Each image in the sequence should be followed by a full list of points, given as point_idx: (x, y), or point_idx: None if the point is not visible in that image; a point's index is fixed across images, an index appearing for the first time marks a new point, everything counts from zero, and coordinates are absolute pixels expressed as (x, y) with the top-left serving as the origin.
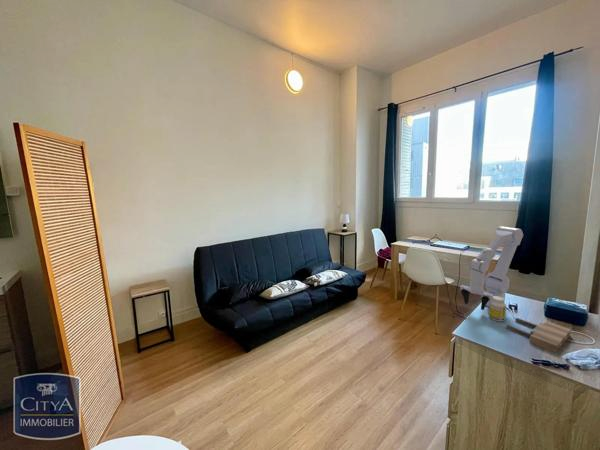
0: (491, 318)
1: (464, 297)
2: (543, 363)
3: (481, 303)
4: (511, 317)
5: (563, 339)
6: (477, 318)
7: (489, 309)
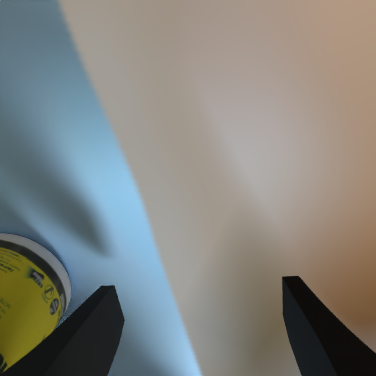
0: (14, 237)
1: (353, 352)
2: None
3: (59, 355)
4: None
5: None
6: (70, 133)
7: (5, 318)
